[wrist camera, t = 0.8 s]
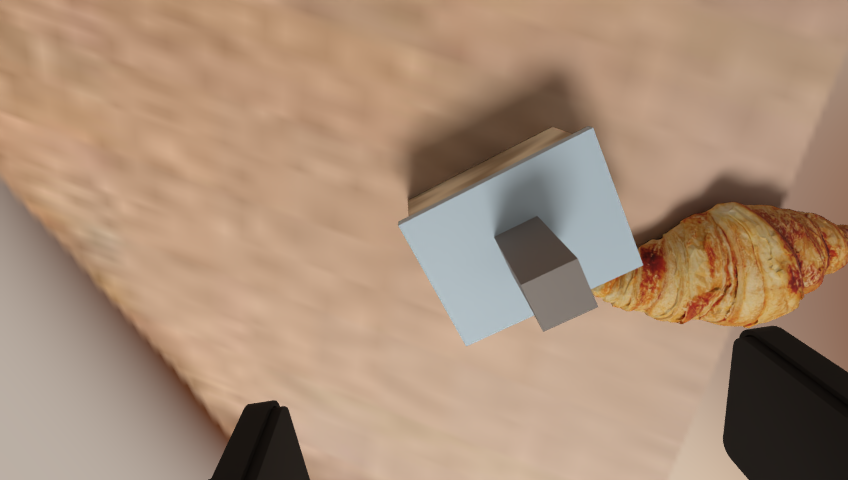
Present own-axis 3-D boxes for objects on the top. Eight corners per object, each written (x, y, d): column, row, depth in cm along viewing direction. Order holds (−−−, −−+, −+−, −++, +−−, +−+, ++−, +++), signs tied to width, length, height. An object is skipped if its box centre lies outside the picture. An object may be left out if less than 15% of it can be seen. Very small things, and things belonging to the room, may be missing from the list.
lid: (588, 126, 27) (655, 145, 20) (637, 260, 31) (710, 318, 23) (398, 221, 29) (397, 271, 22) (464, 340, 32) (483, 417, 25)
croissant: (572, 292, 42) (606, 371, 37) (580, 218, 35) (624, 305, 29) (805, 243, 41) (874, 318, 36) (865, 156, 34) (964, 235, 28)
